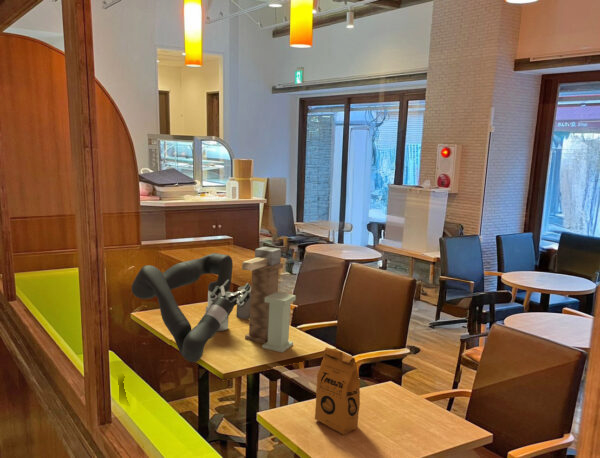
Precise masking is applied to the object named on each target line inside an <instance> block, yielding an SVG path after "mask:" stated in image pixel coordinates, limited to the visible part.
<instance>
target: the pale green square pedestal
mask: <svg viewBox="0 0 600 458" xmlns="http://www.w3.org/2000/svg"><path fill="white" fill-rule="evenodd" d="M296 300H297V295H296V294H295V295H294V294H290V293H285V292H275V293H273V294H271V295H269V296H266V297H265V302H266V303H270V305H269V325H268V342H266V343H262V349H265V350H270V351H275V352H279V353H284V352H285V351H286V350H288V349H290V347H292V346H293V345H294V341H290V340H289V337H290V323H291V322H290V320H291V306H292V305H291V304H292V303H293V302H296Z"/></svg>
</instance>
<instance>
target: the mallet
mask: <svg viewBox="0 0 600 458" xmlns="http://www.w3.org/2000/svg"><path fill="white" fill-rule="evenodd" d="M281 254H282V248H279V247H278V248H277V247H271V246H262V247H258V248H255V249H254V258H251V259H248V260H244V261H242V263H241V264H242V265H241V267H242V268H241V269H242V270H243V271H249V272H252V270H255V269H258V268H261V267H264V266H267V265H269V266H273V265H276V264H278V263H281V258H282V255H281Z"/></svg>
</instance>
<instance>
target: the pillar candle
mask: <svg viewBox="0 0 600 458" xmlns="http://www.w3.org/2000/svg"><path fill="white" fill-rule="evenodd" d="M244 287H245V285H242V286H239V287H238V288H237V291H241V290H243V288H244ZM242 294H243V293H242ZM242 294H241V295H242ZM249 295H250V298H249V299H248V301H247V302H246V303H245V305H244V306H243V307H240V305H238V304H236V314H235V315H236V318H238V319H242V320H250V302H251V285H250V290H249ZM236 297H237V298H238V295H236Z"/></svg>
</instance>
